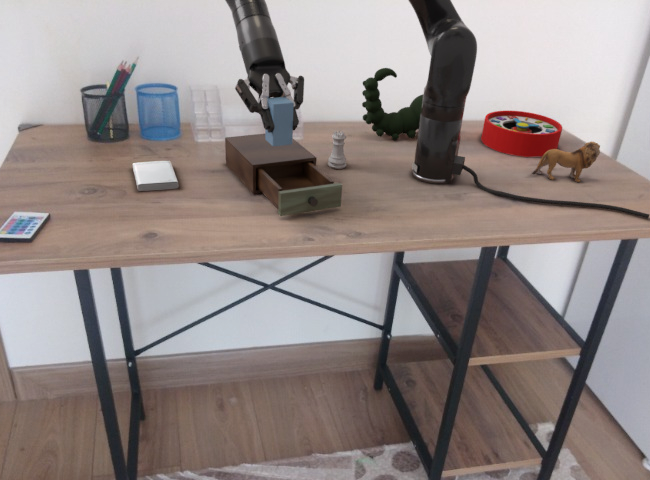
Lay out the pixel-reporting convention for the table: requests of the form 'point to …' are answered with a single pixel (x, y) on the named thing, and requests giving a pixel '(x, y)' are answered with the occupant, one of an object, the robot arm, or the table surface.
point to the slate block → (280, 121)
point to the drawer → (298, 188)
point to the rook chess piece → (337, 151)
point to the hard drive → (154, 175)
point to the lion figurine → (570, 159)
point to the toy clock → (520, 133)
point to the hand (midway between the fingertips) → (283, 129)
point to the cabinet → (260, 156)
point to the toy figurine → (392, 122)
